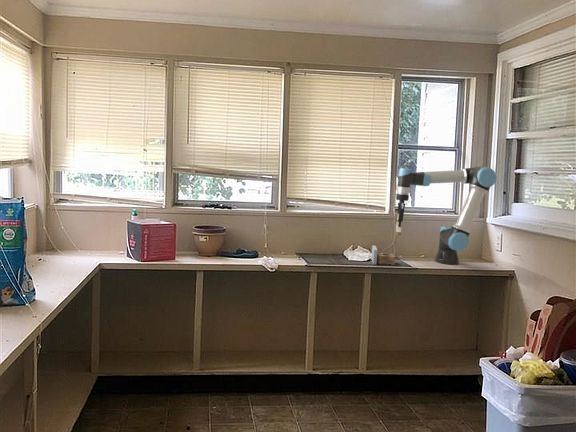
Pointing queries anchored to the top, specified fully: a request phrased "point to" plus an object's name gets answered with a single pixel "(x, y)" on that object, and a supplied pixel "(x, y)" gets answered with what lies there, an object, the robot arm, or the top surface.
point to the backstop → (374, 255)
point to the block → (385, 258)
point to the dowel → (396, 228)
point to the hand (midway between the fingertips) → (398, 231)
